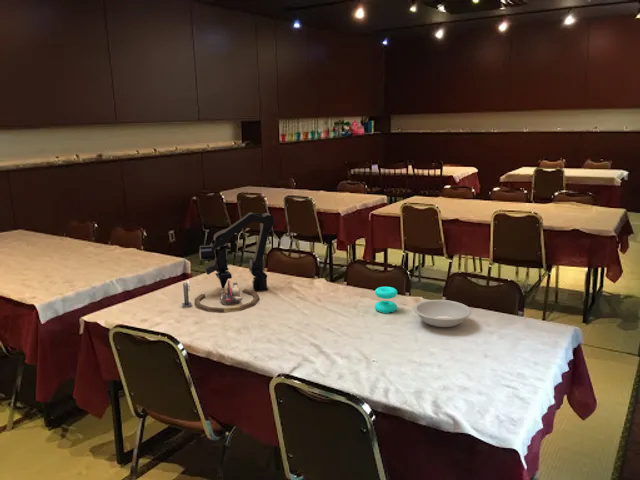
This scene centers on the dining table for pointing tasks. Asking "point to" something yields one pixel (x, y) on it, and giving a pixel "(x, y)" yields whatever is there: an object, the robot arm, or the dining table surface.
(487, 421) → the dining table surface
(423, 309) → the soup bowl
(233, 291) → the brake caliper
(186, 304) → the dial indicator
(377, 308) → the donuts
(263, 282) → the robot arm
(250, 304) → the bent brown bar
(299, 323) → the dining table surface
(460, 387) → the dining table surface
